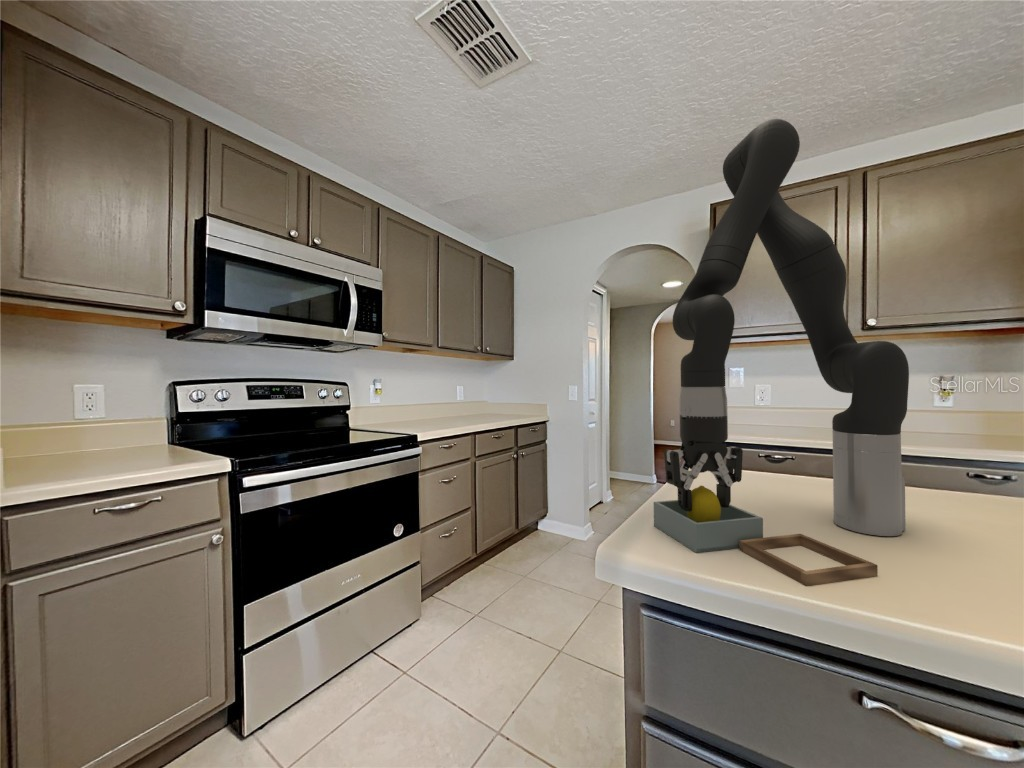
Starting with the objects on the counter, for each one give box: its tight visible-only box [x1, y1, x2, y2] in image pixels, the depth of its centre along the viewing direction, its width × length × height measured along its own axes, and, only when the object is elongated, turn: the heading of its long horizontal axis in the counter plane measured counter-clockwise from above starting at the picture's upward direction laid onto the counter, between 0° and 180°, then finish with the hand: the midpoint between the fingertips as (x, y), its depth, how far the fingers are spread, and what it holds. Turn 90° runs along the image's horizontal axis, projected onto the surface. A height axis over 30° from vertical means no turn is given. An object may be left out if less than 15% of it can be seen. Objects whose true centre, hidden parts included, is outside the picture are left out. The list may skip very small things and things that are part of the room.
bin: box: [653, 499, 764, 554], centre depth 70 cm, size 12×12×4 cm
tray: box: [738, 533, 878, 587], centre depth 59 cm, size 12×12×2 cm
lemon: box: [686, 485, 721, 523], centre depth 70 cm, size 6×6×8 cm
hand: (704, 507), depth 70 cm, fingers open, 6 cm apart
